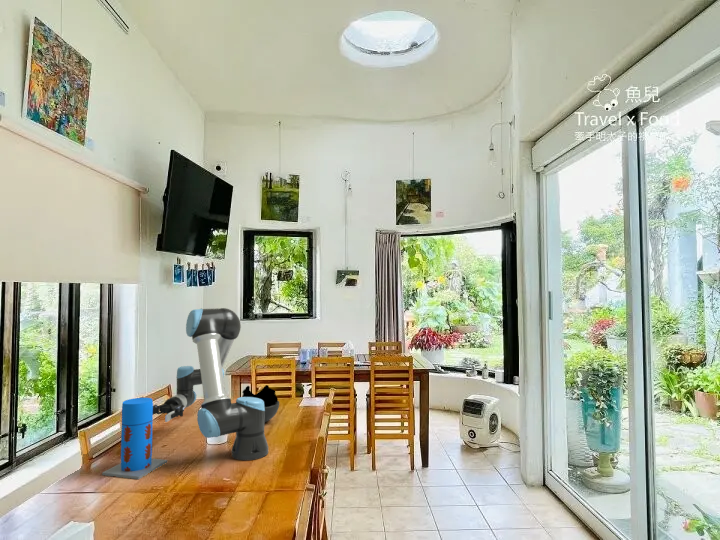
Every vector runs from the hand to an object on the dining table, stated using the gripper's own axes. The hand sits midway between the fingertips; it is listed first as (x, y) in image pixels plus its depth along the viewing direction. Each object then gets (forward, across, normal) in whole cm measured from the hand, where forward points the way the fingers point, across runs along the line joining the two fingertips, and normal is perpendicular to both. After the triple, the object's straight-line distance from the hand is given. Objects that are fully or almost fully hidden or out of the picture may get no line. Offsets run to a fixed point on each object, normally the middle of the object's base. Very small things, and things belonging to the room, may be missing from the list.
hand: (150, 418), depth 179 cm
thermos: (+9, 0, -16) cm, 18 cm away
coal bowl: (-51, -31, -17) cm, 62 cm away
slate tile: (+10, 0, -16) cm, 19 cm away
